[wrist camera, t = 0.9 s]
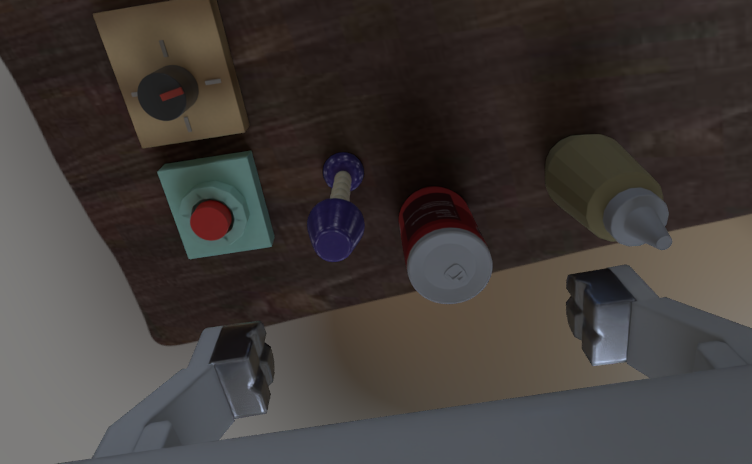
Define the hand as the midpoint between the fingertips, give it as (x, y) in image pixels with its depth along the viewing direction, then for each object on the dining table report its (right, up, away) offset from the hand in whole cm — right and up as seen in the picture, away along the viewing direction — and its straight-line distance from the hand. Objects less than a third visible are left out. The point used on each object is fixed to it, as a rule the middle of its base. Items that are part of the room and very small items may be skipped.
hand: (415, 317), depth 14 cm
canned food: (+5, +4, +43) cm, 43 cm away
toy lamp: (-5, +9, +40) cm, 41 cm away
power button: (-17, +4, +38) cm, 42 cm away
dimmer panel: (-19, +17, +35) cm, 43 cm away
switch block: (-17, +5, +41) cm, 45 cm away
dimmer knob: (-19, +15, +33) cm, 41 cm away
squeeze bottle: (+19, +10, +40) cm, 46 cm away
